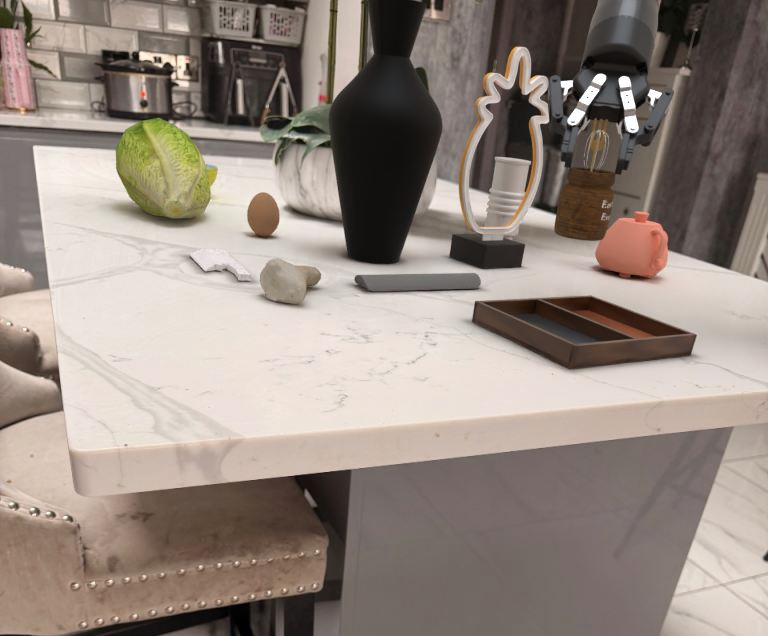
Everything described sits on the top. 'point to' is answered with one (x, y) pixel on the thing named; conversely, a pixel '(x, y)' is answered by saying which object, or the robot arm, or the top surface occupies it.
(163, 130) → the lettuce
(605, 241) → the pink rounded pot
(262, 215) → the egg
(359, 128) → the vase
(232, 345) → the top surface
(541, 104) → the lamp
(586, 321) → the sorting tray
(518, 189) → the white ribbed cup
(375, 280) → the half round rod
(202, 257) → the white flat piece
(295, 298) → the stone
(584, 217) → the utensil holder
